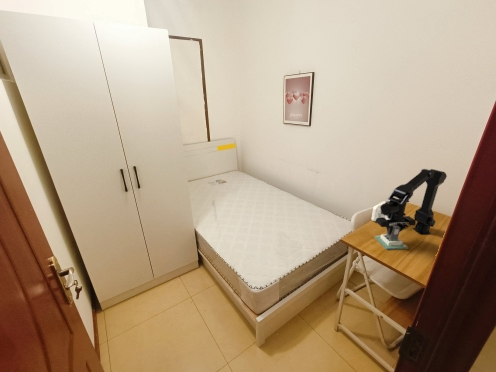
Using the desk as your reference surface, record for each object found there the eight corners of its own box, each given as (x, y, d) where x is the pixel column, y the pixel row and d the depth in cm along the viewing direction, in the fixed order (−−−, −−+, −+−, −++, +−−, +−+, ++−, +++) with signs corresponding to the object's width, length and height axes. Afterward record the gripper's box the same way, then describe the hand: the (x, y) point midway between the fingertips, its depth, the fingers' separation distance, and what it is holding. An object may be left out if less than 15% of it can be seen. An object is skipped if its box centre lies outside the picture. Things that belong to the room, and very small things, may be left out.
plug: (392, 235, 127) (395, 223, 124) (398, 240, 123) (401, 227, 120) (386, 235, 127) (388, 223, 124) (391, 240, 123) (393, 228, 120)
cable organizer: (386, 228, 140) (389, 212, 135) (369, 221, 148) (372, 206, 144) (397, 220, 147) (401, 205, 143) (381, 214, 156) (384, 199, 151)
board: (394, 235, 132) (394, 234, 131) (408, 248, 121) (408, 247, 120) (374, 237, 132) (374, 235, 131) (386, 249, 121) (386, 248, 120)
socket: (393, 236, 129) (393, 233, 129) (401, 244, 122) (402, 241, 122) (380, 237, 129) (380, 234, 129) (388, 245, 122) (389, 242, 122)
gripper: (405, 202, 126) (399, 225, 132) (372, 204, 126) (368, 227, 132) (419, 211, 115) (412, 236, 121) (384, 213, 115) (379, 238, 121)
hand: (392, 234), depth 124 cm, fingers closed on plug, 4 cm apart
